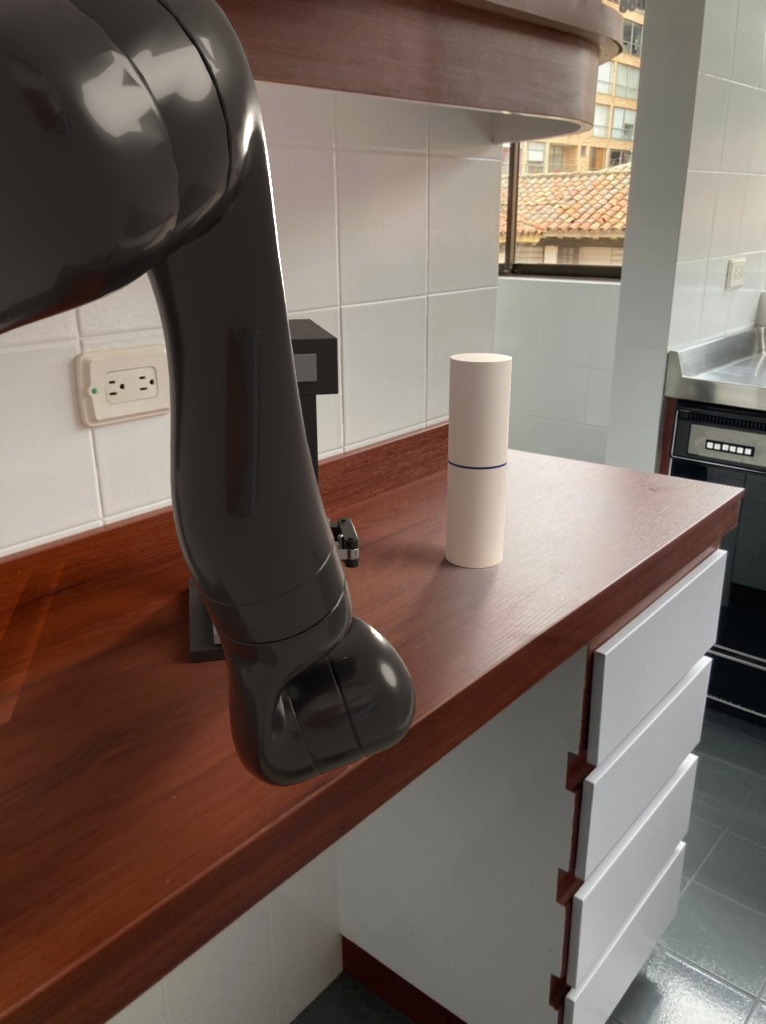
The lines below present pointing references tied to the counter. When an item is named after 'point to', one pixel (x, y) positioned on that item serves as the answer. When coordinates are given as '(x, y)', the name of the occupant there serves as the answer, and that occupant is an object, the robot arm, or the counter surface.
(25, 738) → the counter surface
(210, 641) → the coffee maker
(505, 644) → the counter surface
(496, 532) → the cylindrical container
